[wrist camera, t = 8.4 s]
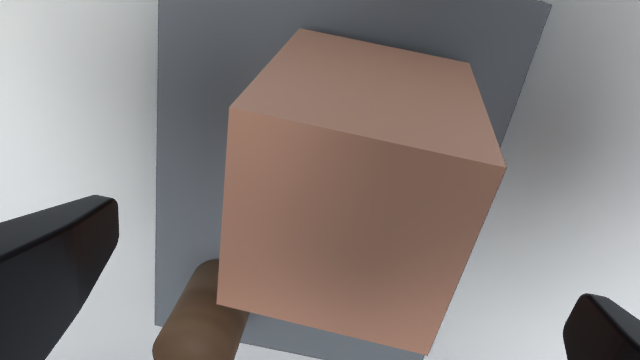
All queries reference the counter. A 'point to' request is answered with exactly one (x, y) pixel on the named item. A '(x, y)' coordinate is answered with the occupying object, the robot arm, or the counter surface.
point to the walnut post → (201, 322)
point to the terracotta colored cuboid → (355, 189)
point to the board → (243, 67)
